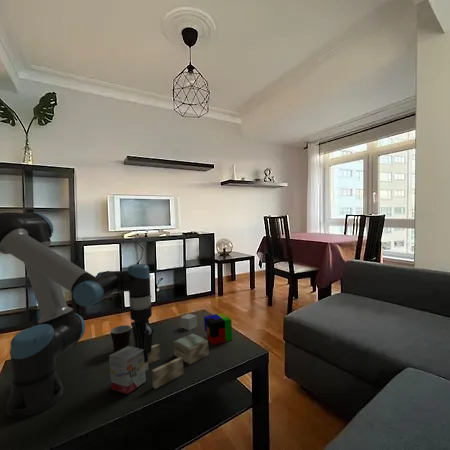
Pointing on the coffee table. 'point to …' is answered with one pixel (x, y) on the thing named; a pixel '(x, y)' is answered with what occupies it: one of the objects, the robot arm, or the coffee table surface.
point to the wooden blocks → (185, 351)
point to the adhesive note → (189, 321)
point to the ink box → (127, 369)
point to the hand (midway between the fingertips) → (144, 369)
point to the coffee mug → (121, 337)
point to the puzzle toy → (218, 328)
